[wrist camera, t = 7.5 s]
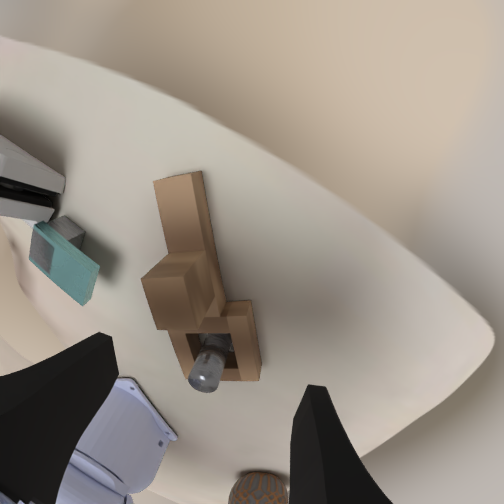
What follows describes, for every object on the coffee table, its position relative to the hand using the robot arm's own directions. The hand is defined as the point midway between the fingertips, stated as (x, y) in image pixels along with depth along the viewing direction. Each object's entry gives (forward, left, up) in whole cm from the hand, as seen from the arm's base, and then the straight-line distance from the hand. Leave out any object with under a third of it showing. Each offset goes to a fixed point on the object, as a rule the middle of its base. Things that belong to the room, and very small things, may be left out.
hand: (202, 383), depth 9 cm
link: (0, +2, -9) cm, 9 cm away
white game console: (+16, +17, -9) cm, 25 cm away
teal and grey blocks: (+2, +8, -9) cm, 12 cm away
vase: (-27, +7, -9) cm, 29 cm away
